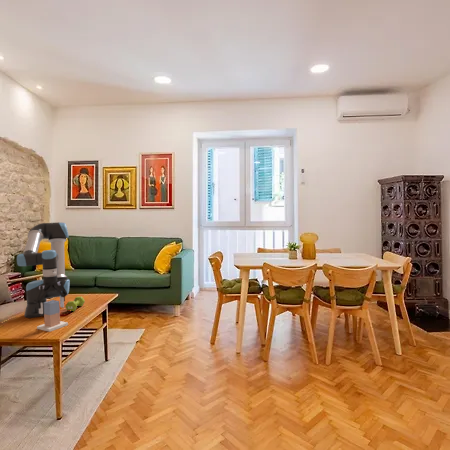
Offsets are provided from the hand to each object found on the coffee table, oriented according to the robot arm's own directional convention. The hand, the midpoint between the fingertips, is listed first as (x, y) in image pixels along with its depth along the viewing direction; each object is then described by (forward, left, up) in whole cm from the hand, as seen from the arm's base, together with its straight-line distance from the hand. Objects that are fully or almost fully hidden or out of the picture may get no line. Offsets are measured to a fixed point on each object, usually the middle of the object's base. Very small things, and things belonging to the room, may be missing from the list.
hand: (51, 310), depth 192 cm
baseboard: (0, 0, -10) cm, 10 cm away
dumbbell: (-21, +32, -11) cm, 40 cm away
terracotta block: (0, 0, -9) cm, 9 cm away
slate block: (0, 0, -2) cm, 2 cm away
